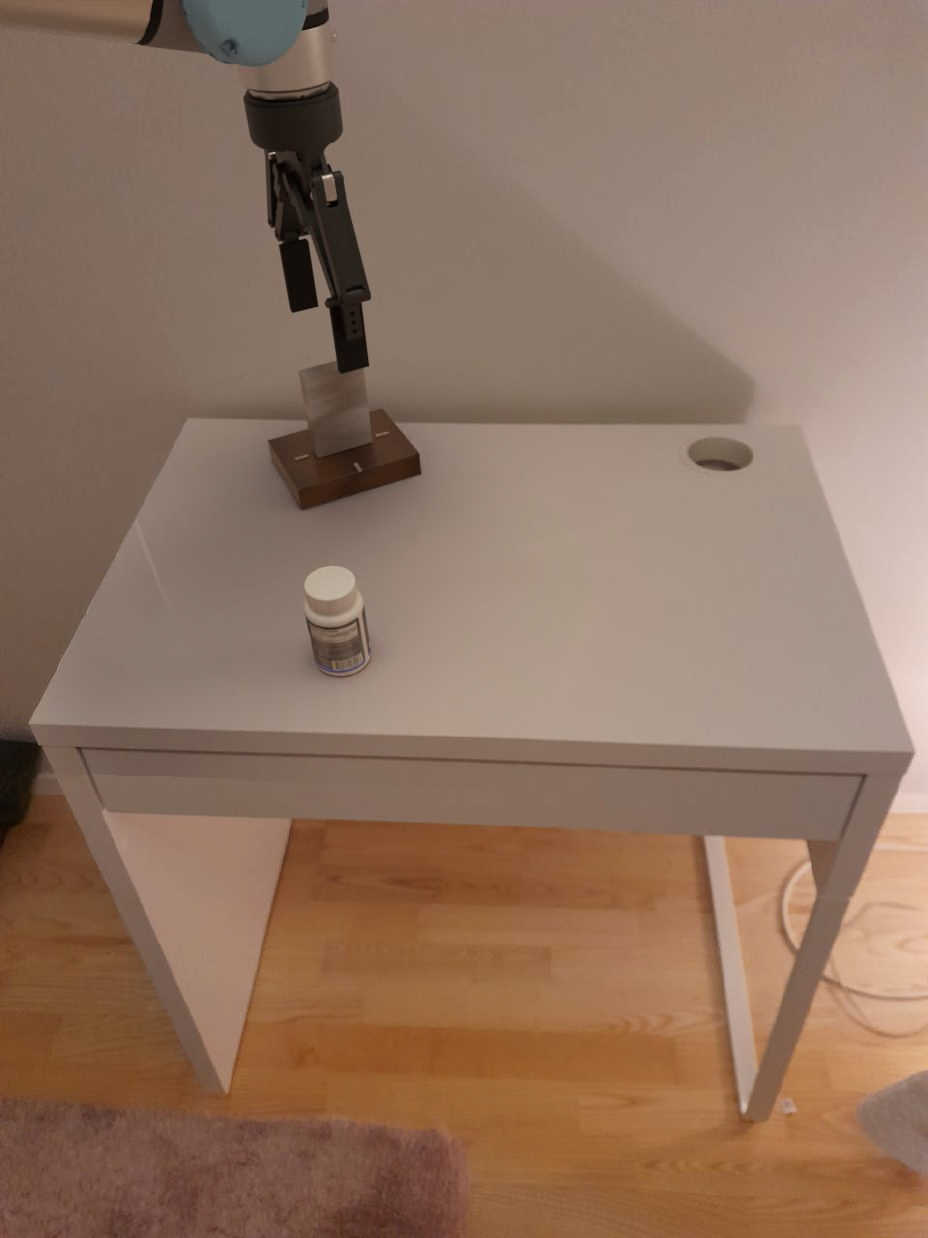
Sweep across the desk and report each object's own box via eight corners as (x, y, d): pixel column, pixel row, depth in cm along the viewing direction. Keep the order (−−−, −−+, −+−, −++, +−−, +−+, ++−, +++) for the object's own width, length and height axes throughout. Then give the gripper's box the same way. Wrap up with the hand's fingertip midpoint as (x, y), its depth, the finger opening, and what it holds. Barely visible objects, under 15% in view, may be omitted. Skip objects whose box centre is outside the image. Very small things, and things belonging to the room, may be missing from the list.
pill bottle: (329, 632, 80) (315, 556, 75) (380, 644, 79) (369, 568, 73) (305, 670, 77) (288, 595, 71) (357, 683, 76) (344, 608, 70)
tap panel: (302, 510, 93) (297, 488, 91) (271, 459, 100) (266, 438, 98) (421, 474, 97) (420, 452, 95) (384, 427, 104) (381, 405, 102)
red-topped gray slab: (317, 458, 95) (303, 376, 89) (311, 449, 96) (297, 367, 90) (372, 442, 97) (362, 360, 91) (366, 434, 98) (356, 352, 92)
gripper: (395, 118, 66) (417, 385, 81) (285, 44, 83) (320, 278, 98) (294, 137, 64) (336, 408, 79) (202, 58, 81) (251, 294, 95)
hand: (327, 337), depth 88 cm, fingers open, 13 cm apart
